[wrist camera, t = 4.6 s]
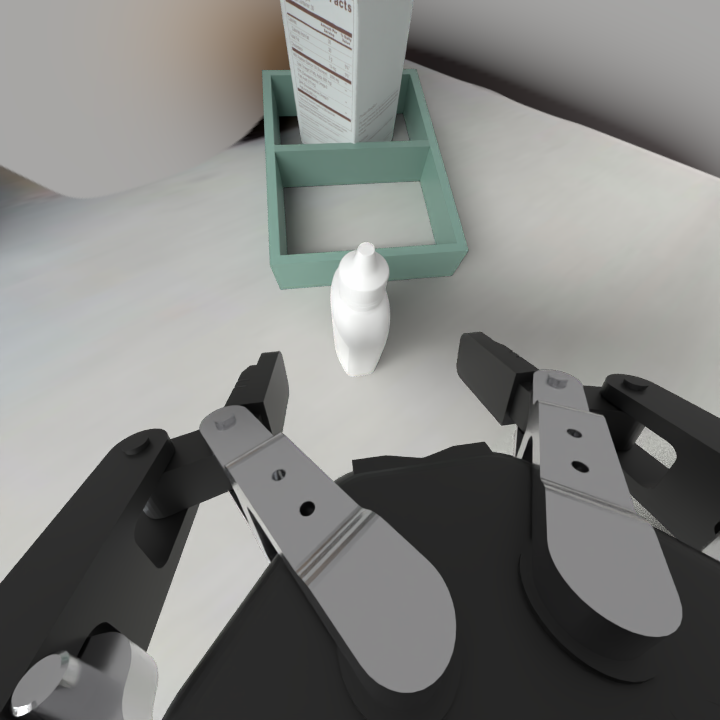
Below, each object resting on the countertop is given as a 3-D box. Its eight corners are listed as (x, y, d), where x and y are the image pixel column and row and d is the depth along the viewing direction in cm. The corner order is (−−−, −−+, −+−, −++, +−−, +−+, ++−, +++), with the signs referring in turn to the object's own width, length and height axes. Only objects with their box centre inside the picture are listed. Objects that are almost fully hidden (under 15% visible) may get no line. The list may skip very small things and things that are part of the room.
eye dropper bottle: (319, 367, 22) (291, 288, 10) (341, 309, 23) (339, 185, 12) (369, 384, 22) (398, 323, 10) (388, 325, 23) (432, 213, 12)
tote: (280, 289, 24) (269, 265, 20) (271, 111, 30) (262, 70, 27) (451, 275, 25) (468, 250, 22) (408, 108, 31) (416, 69, 28)
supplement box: (341, 110, 30) (340, -108, 18) (393, 141, 29) (428, -67, 17) (298, 144, 28) (265, -73, 16) (353, 179, 27) (360, -25, 15)
